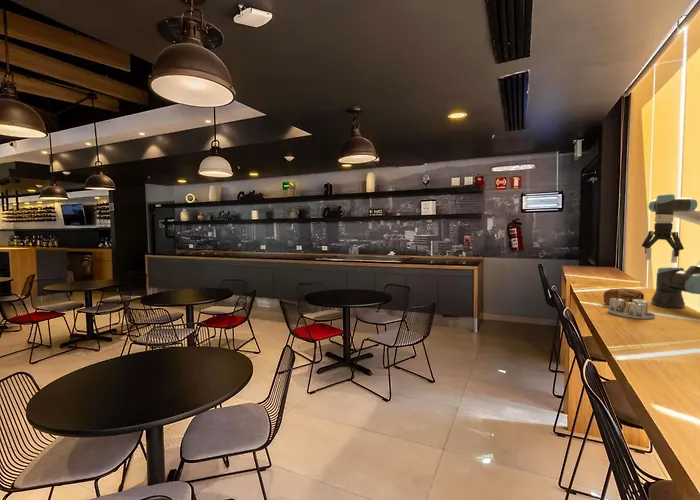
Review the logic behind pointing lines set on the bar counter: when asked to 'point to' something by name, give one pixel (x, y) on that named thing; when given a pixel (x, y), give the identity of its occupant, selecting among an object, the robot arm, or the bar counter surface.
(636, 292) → the bread
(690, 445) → the bar counter surface
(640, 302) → the planet gear
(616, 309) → the carrier
